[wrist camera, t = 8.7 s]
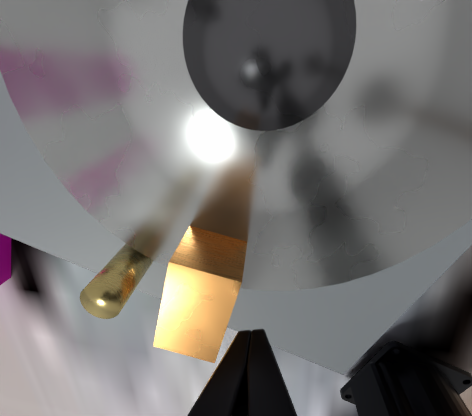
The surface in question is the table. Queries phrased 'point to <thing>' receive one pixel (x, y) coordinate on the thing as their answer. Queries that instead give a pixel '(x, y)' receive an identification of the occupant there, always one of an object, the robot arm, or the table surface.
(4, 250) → the toy block
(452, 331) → the table surface
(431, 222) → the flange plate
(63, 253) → the jig block
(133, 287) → the dowel
